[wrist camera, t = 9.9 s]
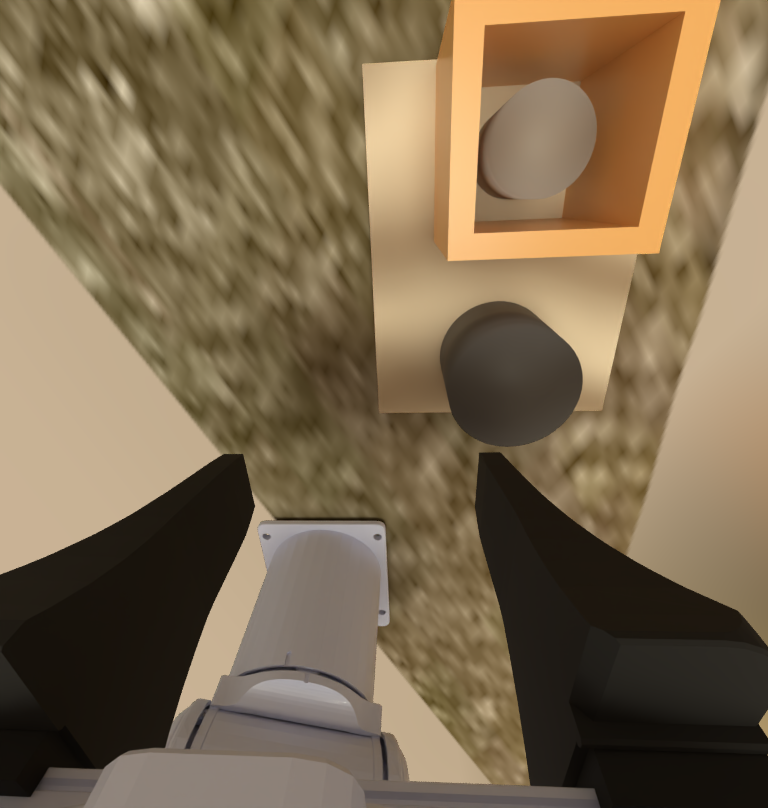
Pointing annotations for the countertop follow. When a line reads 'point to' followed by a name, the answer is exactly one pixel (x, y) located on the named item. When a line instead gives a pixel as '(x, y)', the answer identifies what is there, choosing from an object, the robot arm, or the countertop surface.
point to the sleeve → (613, 104)
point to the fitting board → (486, 263)
